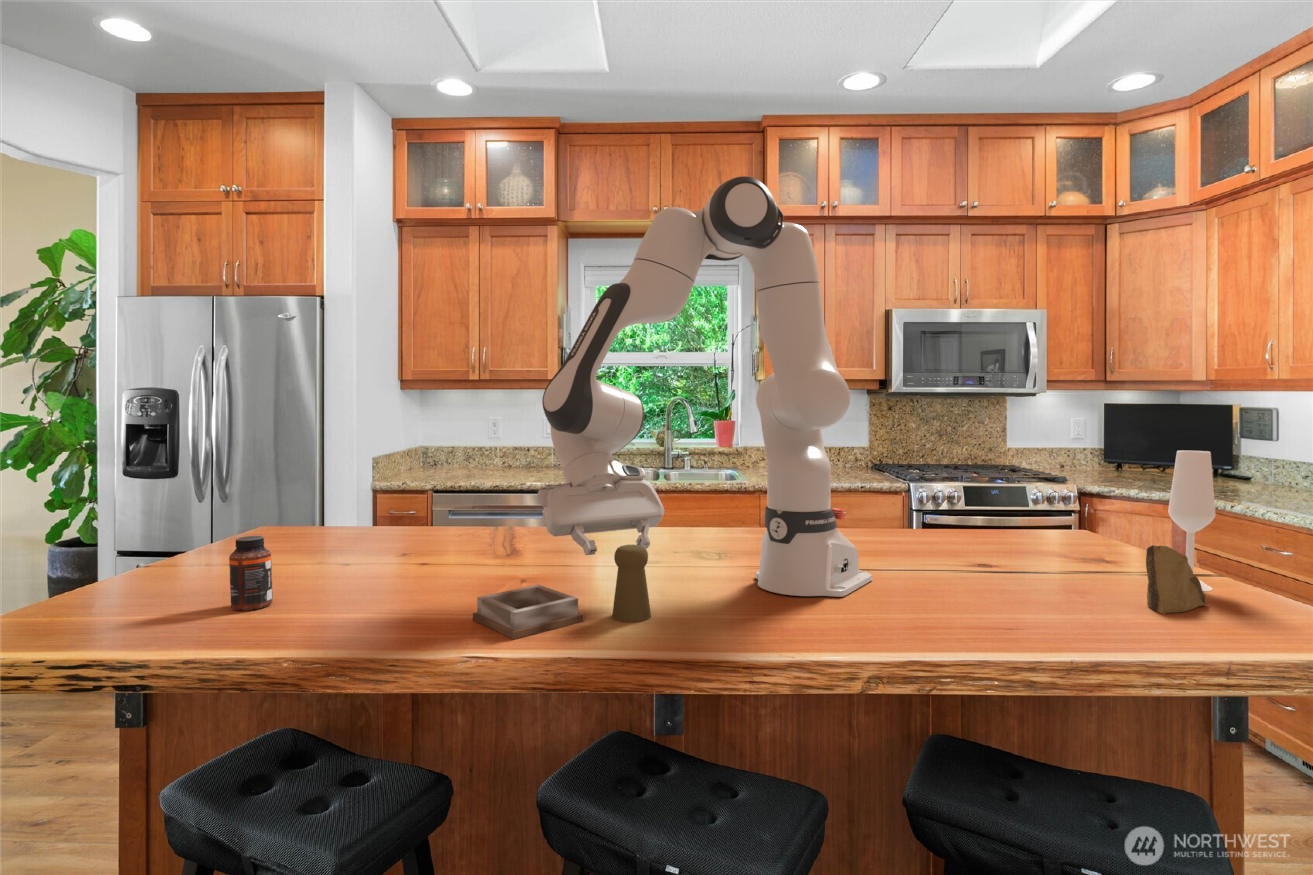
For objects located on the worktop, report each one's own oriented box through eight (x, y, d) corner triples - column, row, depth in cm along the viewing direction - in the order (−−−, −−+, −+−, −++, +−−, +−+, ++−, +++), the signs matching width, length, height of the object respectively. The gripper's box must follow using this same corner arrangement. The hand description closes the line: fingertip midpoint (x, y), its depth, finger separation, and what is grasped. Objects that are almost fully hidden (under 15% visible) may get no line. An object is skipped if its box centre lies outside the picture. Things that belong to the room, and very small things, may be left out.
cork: (646, 623, 106) (646, 550, 105) (607, 620, 107) (606, 548, 106) (654, 611, 112) (654, 542, 111) (617, 609, 113) (617, 541, 112)
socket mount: (539, 604, 116) (539, 583, 115) (583, 621, 107) (583, 598, 106) (472, 619, 108) (472, 597, 107) (513, 639, 99) (513, 614, 98)
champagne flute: (1220, 588, 124) (1226, 452, 123) (1199, 593, 121) (1204, 453, 120) (1178, 579, 130) (1183, 449, 129) (1157, 583, 127) (1161, 450, 126)
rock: (1193, 584, 118) (1128, 573, 120) (1219, 551, 112) (1150, 540, 114) (1215, 639, 110) (1145, 626, 112) (1245, 606, 104) (1170, 593, 106)
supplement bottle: (281, 603, 116) (279, 535, 116) (247, 613, 111) (244, 542, 110) (257, 599, 119) (254, 533, 118) (222, 609, 114) (220, 539, 113)
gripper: (539, 473, 113) (562, 544, 105) (651, 467, 123) (680, 532, 115) (530, 497, 117) (552, 568, 109) (639, 490, 127) (666, 554, 119)
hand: (618, 549), depth 112 cm, fingers open, 8 cm apart
